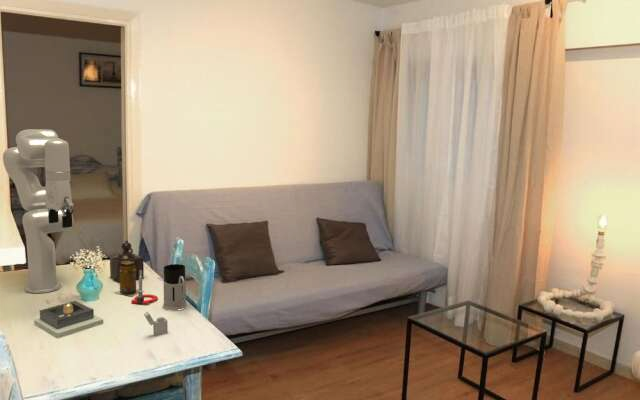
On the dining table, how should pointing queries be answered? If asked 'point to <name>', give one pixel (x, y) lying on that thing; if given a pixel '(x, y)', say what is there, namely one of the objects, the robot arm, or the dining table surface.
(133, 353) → the dining table surface
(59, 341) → the dining table surface
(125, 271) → the condiment
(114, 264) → the manual coffee grinder
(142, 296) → the tow hook
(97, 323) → the plate
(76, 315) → the square metal frame
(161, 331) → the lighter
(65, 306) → the post
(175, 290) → the glass holder
